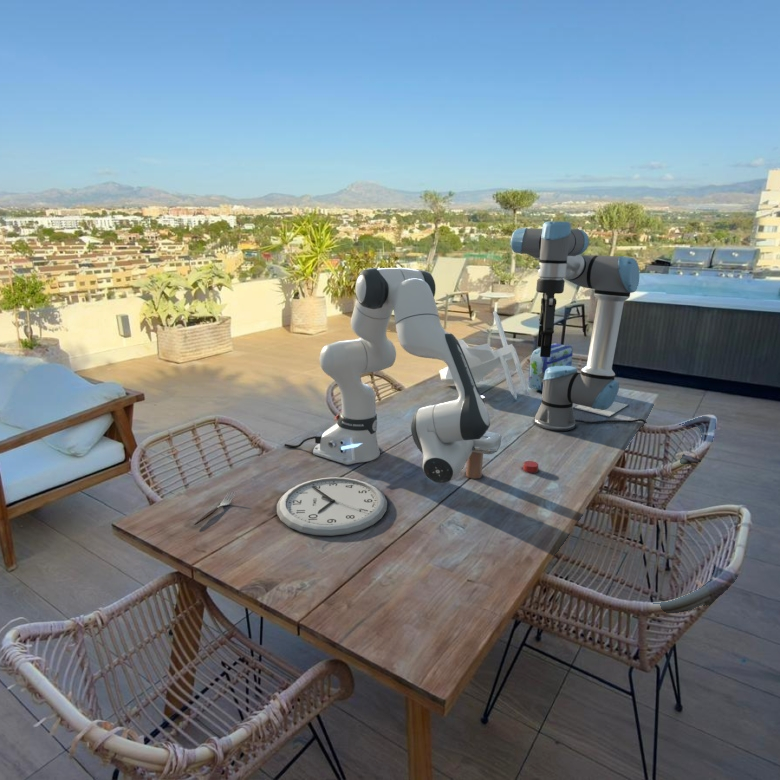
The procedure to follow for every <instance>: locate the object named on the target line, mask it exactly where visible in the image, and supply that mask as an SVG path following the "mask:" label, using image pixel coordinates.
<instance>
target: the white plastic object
mask: <svg viewBox="0 0 780 780" xmlns="http://www.w3.org/2000/svg"><path fill="white" fill-rule="evenodd" d="M492 315H493V319H494V321H495V324H496V325H495V326H496V328H497V332H498V335H499V338H500V342H501V345H502V347H500V348H498V349H496V350H495V349H493V348H492V347H491V346H490V344H489V343H488V342H487V343H483V344H479V345H473V346H469V345H468V343H466V342H465V340H464V339H463V338H460V339H458V338H456V339H457V340H458V342H459V344H460V346H461V348H462V351H463V353H464V355H465V358H466V360H467V363H468V365H469V368H470V371H471V373H472V376H473V378H474V381H475V384H477V383H480V382H482V381H484V378H485V377H486V376H487V375H489V374H490V373H492V372H494V371H495V370H496V369H497V368H499V367H500V366H502V370H503V373H504V376H505V380H506V383H507V386H508V390H509V393H510V394H511V395H512V397H513V398H514V399H515V400H517V392H516V391H517V390H516V388H515V385H514V381H513V378H512V375H511V371H510V369H509V365H508V361H510V360H513V363H514V366H515V369H516V372H517V376H518V380H519V382H520V385H521V389H522V391H523V393H524V395H525V396H526V397H528V396H531V395H530V390H529V386H528V384H527V381H526V378H525V375H524V371H523V369H522V368H523V367H522V366H521V362H520V359H519V355H518V352H517V349H516V347H515V346H514V345H513V343H511V344H508V341H507V337H506V334H505V331H504V328H503V325H502V321H501V318H500V315H499V314H498V312H497V311H496V310H495V311H492ZM438 372H439V376H440V381H442V383H443V384H444V385H445V386H449V385H455V383H454V380H453V378H452V375H451V372H450V370H449V367H448V366H446V367H444V368H442V369H440V370H439V371H438Z"/></svg>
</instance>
